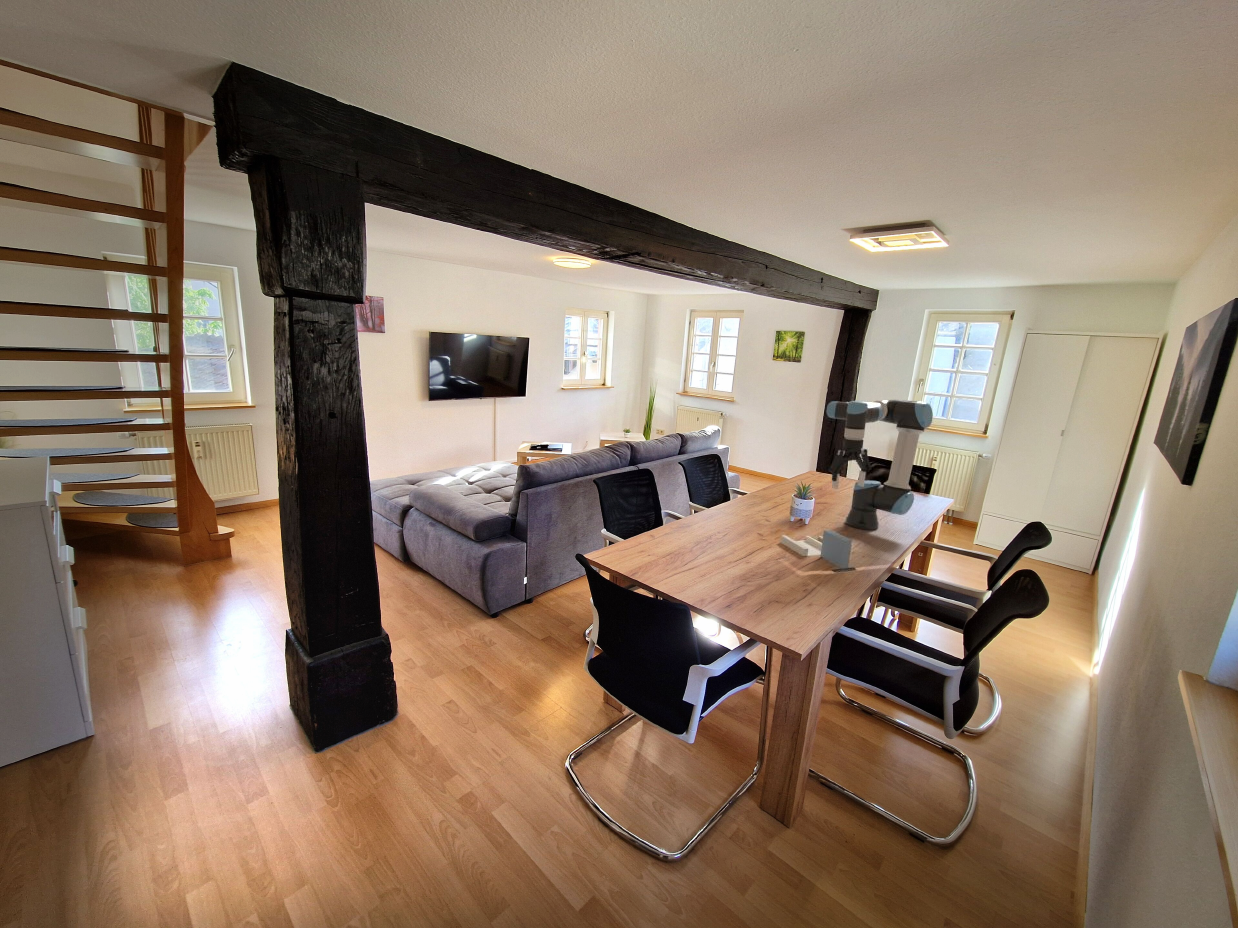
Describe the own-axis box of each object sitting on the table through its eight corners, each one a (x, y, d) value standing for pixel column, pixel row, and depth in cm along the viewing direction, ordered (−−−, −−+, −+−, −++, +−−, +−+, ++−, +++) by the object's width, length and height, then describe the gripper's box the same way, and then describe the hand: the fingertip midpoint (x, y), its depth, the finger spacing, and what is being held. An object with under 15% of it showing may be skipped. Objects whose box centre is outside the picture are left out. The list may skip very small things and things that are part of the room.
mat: (831, 556, 207) (832, 555, 207) (856, 570, 194) (856, 568, 194) (811, 558, 204) (812, 557, 204) (835, 572, 191) (835, 571, 191)
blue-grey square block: (827, 556, 205) (830, 529, 203) (847, 568, 194) (851, 540, 191) (820, 557, 204) (823, 530, 202) (840, 569, 193) (844, 540, 190)
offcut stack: (822, 539, 223) (823, 533, 223) (844, 551, 210) (845, 544, 210) (810, 540, 222) (811, 534, 221) (832, 552, 209) (833, 545, 208)
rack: (825, 540, 225) (826, 531, 224) (850, 554, 210) (851, 544, 209) (780, 544, 219) (781, 535, 218) (803, 558, 204) (804, 548, 203)
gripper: (870, 435, 212) (864, 482, 217) (822, 438, 204) (817, 486, 209) (884, 438, 205) (878, 487, 210) (835, 441, 197) (830, 491, 202)
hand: (847, 487), depth 209 cm, fingers open, 13 cm apart
